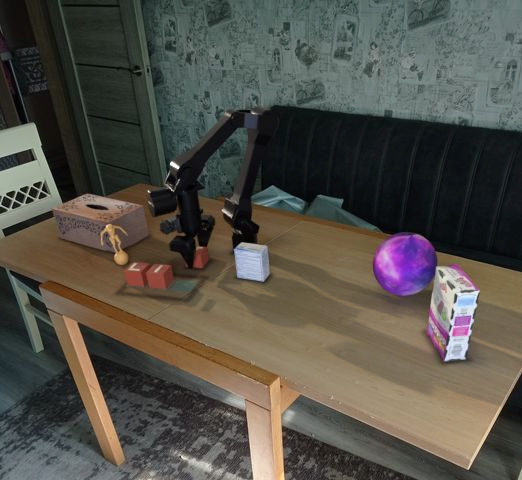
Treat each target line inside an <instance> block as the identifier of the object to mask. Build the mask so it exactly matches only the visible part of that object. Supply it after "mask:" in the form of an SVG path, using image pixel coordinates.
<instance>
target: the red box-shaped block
mask: <svg viewBox="0 0 522 480" xmlns="http://www.w3.org/2000/svg"><path fill="white" fill-rule="evenodd" d="M173 273H174V272H173V267H172V265H171V264H159V263H154V264H153V265H152V266H150V269H149V270H148V271H147V272H146V275H147V280H148V287H149V288H159V289H167V288H168V286H169V285H170V284H171V283H172V282H173V281H174V279H175V277H174V274H173Z"/></svg>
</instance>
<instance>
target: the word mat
mask: <svg viewBox="0 0 522 480" xmlns="http://www.w3.org/2000/svg"><path fill="white" fill-rule="evenodd" d="M198 283H199V281H195V280H184V279H178V280H177V279H175V278H174V281H173V282H172V283H171V284H170V285H169V286H168V288H167V289H159V288H149V284H148V283H147V285H146V286H145V287H138V286H128V285H127V284H126V285H125V287H127V288H139V289H149V290H157V291H158V290H159V291H168V290H169V291H170V292H178V293H179V292H180V293H189V294H190V293H191V292H192V291H193V289H194V288H195V287H196V285H198ZM172 285H173V286H172Z"/></svg>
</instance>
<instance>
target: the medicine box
mask: <svg viewBox="0 0 522 480" xmlns="http://www.w3.org/2000/svg"><path fill="white" fill-rule="evenodd" d="M258 244H259V243H258ZM258 244H251V243H243V242H242V243H240V244H239V245H238V246H237V247H236V248H235V249H233V251H234V252H235V254H234V259H235V260H234V261H235V268H236V277H237V278H238V279H245V280H251V281H257V282H258V281H259V282H263V283H264V282H265V280H266V279H267V278H268V277H269V276H270V275H271V271H270V270H271V269H270V261H269V260H270V259H269V247H268V245H264V244H260V245H258Z"/></svg>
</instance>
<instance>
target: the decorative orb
mask: <svg viewBox="0 0 522 480" xmlns="http://www.w3.org/2000/svg"><path fill="white" fill-rule="evenodd" d="M437 256H438V255H437V252H436V249H435V247H434V245H432V243H431V242H430V241H429V240H428V239H427V238H425V237H424V236H423V235H421V234H418V233H415V232H410V231H405V232H404V231H403V232H396V233H394V234H392V235H390V236H388V237H387V238H386V239H384V240H383V241H382V242H381V243H380V244H379V245H378V247H377V248H376V250H375V252H374V254H373V258H372V272H373V276H374V278H375V280H376V282H377V283H378V285H379V286H380V287H381V288H382V289H383V290H385V291H386V292H388V293H390V294H392V295H395V296H401V297H402V296H404V297H405V296H406V297H407V296H412V295H415V294H418V293H420V292H422V291H424V290H425V289H426V288H427V287H428V286H429V285H430V284H431V283H432V282H433V281H434V278H435V271H436V267H437V266H438V265H439V264H438V263H439V262H438V257H437Z"/></svg>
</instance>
